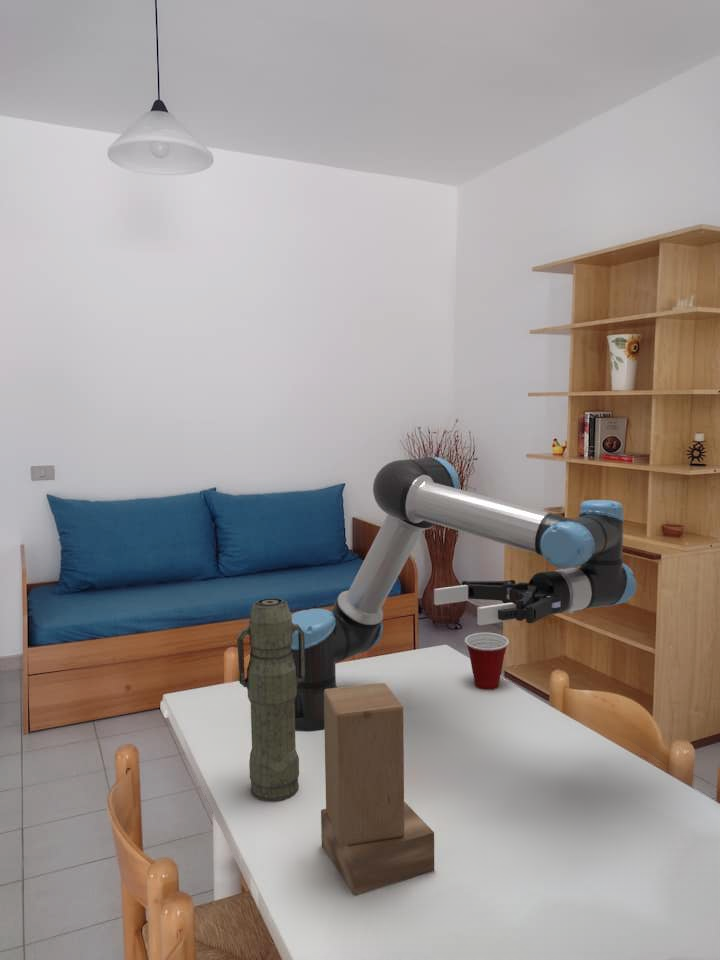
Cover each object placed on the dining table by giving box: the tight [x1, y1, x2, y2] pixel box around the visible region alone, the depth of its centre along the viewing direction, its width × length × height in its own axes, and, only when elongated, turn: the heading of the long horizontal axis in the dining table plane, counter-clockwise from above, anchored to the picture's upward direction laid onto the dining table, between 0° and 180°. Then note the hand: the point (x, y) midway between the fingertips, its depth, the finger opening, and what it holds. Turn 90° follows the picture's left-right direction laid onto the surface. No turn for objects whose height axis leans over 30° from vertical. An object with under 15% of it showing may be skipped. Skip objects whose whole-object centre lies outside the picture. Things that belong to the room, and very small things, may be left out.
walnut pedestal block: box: [320, 801, 435, 896], centre depth 111 cm, size 13×13×6 cm
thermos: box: [236, 597, 305, 803], centre depth 130 cm, size 9×12×35 cm
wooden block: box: [323, 682, 405, 846], centre depth 109 cm, size 10×10×20 cm
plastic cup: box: [464, 632, 510, 691], centre depth 180 cm, size 11×11×12 cm
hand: (455, 606), depth 120 cm, fingers open, 13 cm apart
